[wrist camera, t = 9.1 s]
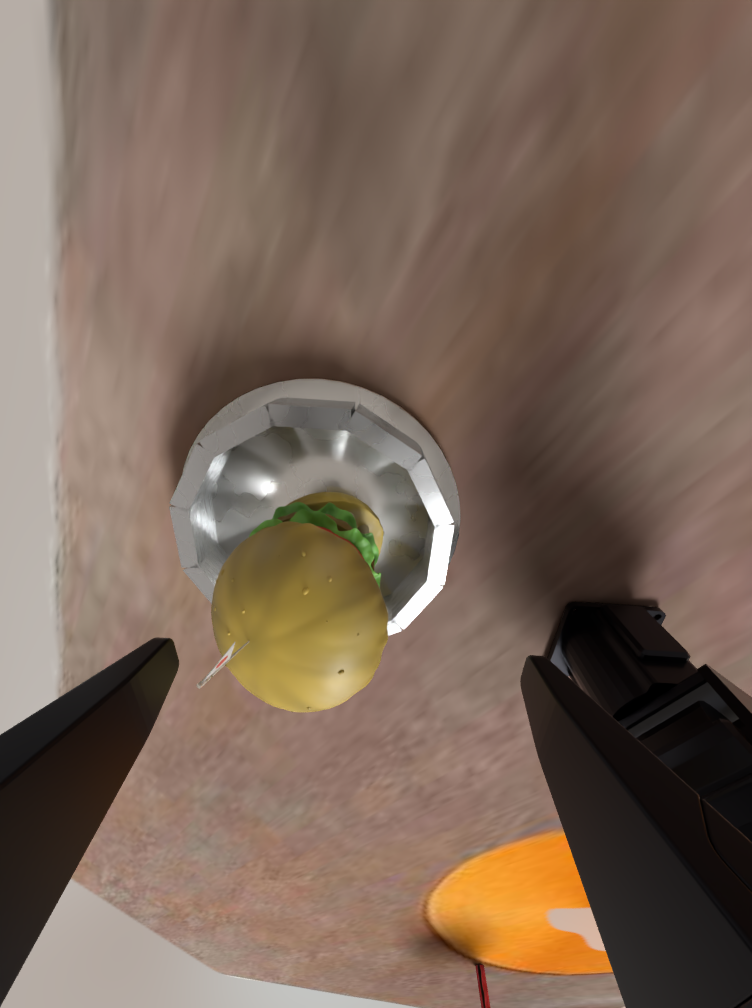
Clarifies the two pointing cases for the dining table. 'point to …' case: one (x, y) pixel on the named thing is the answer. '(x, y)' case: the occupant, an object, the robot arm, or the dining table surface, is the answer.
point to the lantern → (482, 986)
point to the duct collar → (320, 482)
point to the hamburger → (303, 604)
